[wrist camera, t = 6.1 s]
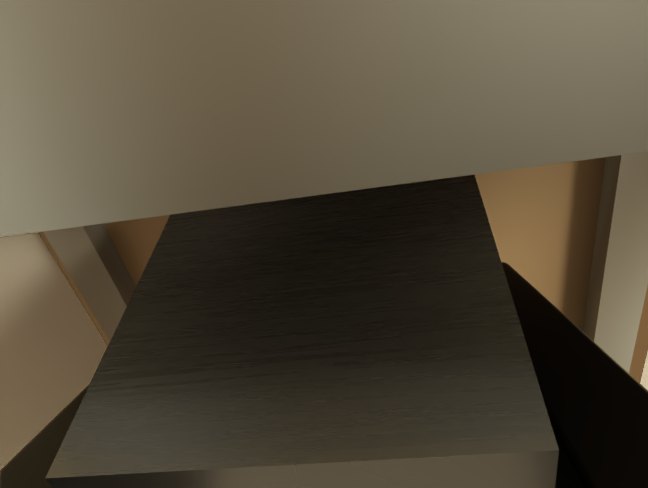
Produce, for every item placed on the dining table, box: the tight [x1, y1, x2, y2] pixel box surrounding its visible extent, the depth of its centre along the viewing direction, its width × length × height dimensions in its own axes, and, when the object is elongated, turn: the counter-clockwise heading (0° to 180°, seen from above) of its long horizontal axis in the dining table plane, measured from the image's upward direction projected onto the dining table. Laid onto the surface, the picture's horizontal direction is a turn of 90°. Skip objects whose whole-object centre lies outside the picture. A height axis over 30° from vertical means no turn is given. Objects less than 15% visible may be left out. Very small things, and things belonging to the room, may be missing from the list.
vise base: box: [0, 0, 648, 383], centre depth 10 cm, size 12×17×6 cm
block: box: [45, 175, 559, 488], centre depth 7 cm, size 4×4×5 cm
